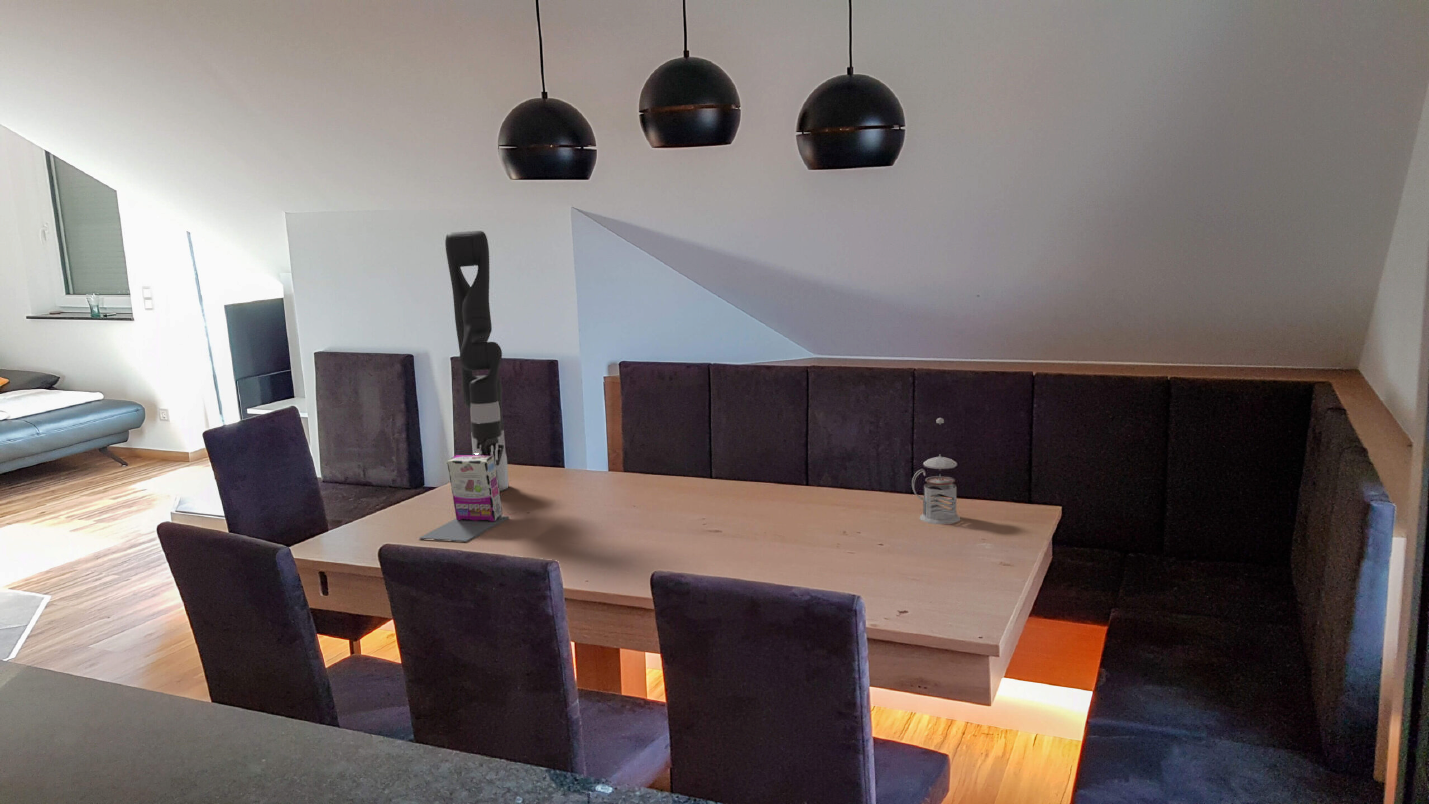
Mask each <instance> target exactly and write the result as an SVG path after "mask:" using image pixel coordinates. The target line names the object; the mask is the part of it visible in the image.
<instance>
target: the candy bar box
mask: <svg viewBox="0 0 1429 804" xmlns="http://www.w3.org/2000/svg"><path fill="white" fill-rule="evenodd" d="M446 464H447V469H448V475H449V482H450V487H451V494H452V500H453V505H454V513H455V519H457V520H464V521H496V520H497V519H498V518H499V517H501V516H504V515H503V514H504V512H503V506H502V499H501V494H500V492H501V491H499V485H498V479H497V472H496V465H495V459H494V456H488V455H472V454H470V455H469V454H467V455H466V454H464V455H463V454H460V455H459V454H456V455H454V456H453V457H451V458H449V460H447V461H446Z"/></svg>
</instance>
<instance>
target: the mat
mask: <svg viewBox="0 0 1429 804" xmlns="http://www.w3.org/2000/svg"><path fill="white" fill-rule="evenodd" d="M509 519H510V518H509V515H507V516H506V515H502V516H501V517H499V518H498V519H497V520H496V521H464V520H457V519H456V518H454V519H453V520H450V521H447V523H445V524H443V525H441V526H438V527H437V528H435V529H433V530H431V531H429V532H428V533H426V534H424V535H422V536H420V537H419V538H420V539H434V540H451V541H462V542H461V543H463V542H467V541H469V540H470V541H472V540H474V539H475V538H477V537H478V535H479V536H481V535H482V534H484V533H485V531H486V532H487V530H488V531H489V530H491V529H493V528H495V527H496V526H498V525H500V524H502V523H503V522H505V521H506V520H509ZM501 522H502V523H501ZM494 526H495V527H494ZM492 527H493V528H492ZM483 532H484V533H483ZM480 534H481V535H480ZM476 536H477V537H476ZM474 537H475V538H474ZM473 538H474V539H473ZM471 539H472V540H471ZM470 541H469V542H470ZM467 543H468V542H467Z"/></svg>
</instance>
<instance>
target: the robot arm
mask: <svg viewBox="0 0 1429 804" xmlns="http://www.w3.org/2000/svg"><path fill="white" fill-rule="evenodd" d="M444 245H445V253H446V260H447V265H448V266H447V267H448V271H449V277H450V282H451V288H452V298H453V311H454V321H455V322H454V323H455V330H456V337H457V343H458V348H459V362H460V370H461V371H460V373H461V390H462V398H463V403H464V405H465V407H466V408H468V409H469V411H470V414H469V415H470V435H471V446H472V447H471V448H472V454H471V455H488V456H494V459H495V465H496V472H497V479H498V485H499V492H503V491H505V490H507V489H508V488H509V485H510V483H509V471H508V469H509V468H508V458H507V453H506V441H505V430H504V428H505V426H504V416H503V415H504V414H503V386H502V380H501V378H500V377H499V372H500V367H501V364H502V357H503V351H502V348H501V346H500V344H499V343H497V342H495V341H489V339H490V335H491V334H492V331H493V328H492V319H491V318H492V317H491V308H490V307H491V306H490V248H489V242H488V236H487V234H486V233H485V232H484V231H482V230H467V231H465V230H464V231H454V232H448V233H447V234H446V236H445V243H444ZM475 266H476V267H477V272H476V276H475V278H474V280H473V283H472V284H471V285H470V284H469V283H468V281H467V280H466V277H465V275H464V273H463V271H462V268H463V267H464V268H465V267H475ZM482 370H485V371H486V370H488V371H487V374H486V375H485V374H484V375H474V373H473V372H474V371H482Z"/></svg>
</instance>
